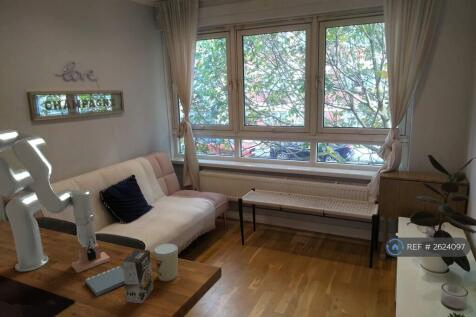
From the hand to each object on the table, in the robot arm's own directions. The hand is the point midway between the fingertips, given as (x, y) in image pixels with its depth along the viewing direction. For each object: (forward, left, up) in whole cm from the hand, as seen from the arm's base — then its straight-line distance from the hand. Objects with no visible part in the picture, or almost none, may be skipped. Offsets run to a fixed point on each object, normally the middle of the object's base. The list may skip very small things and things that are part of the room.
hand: (90, 257), depth 145 cm
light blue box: (+21, 0, -3) cm, 21 cm away
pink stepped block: (+1, 0, -3) cm, 3 cm away
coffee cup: (+34, +19, -3) cm, 39 cm away
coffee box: (+38, +5, -3) cm, 38 cm away
